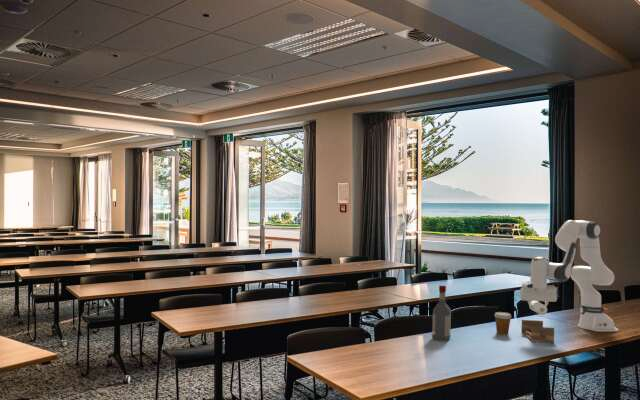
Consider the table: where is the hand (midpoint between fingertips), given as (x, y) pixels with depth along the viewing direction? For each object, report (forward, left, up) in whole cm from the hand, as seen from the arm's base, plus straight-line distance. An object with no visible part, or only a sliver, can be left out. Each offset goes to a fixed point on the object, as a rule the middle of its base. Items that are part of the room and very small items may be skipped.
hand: (537, 308), depth 286 cm
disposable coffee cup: (+18, -6, -17) cm, 26 cm away
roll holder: (0, 0, -17) cm, 17 cm away
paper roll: (0, 0, +1) cm, 1 cm away
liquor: (+57, +12, -17) cm, 61 cm away
